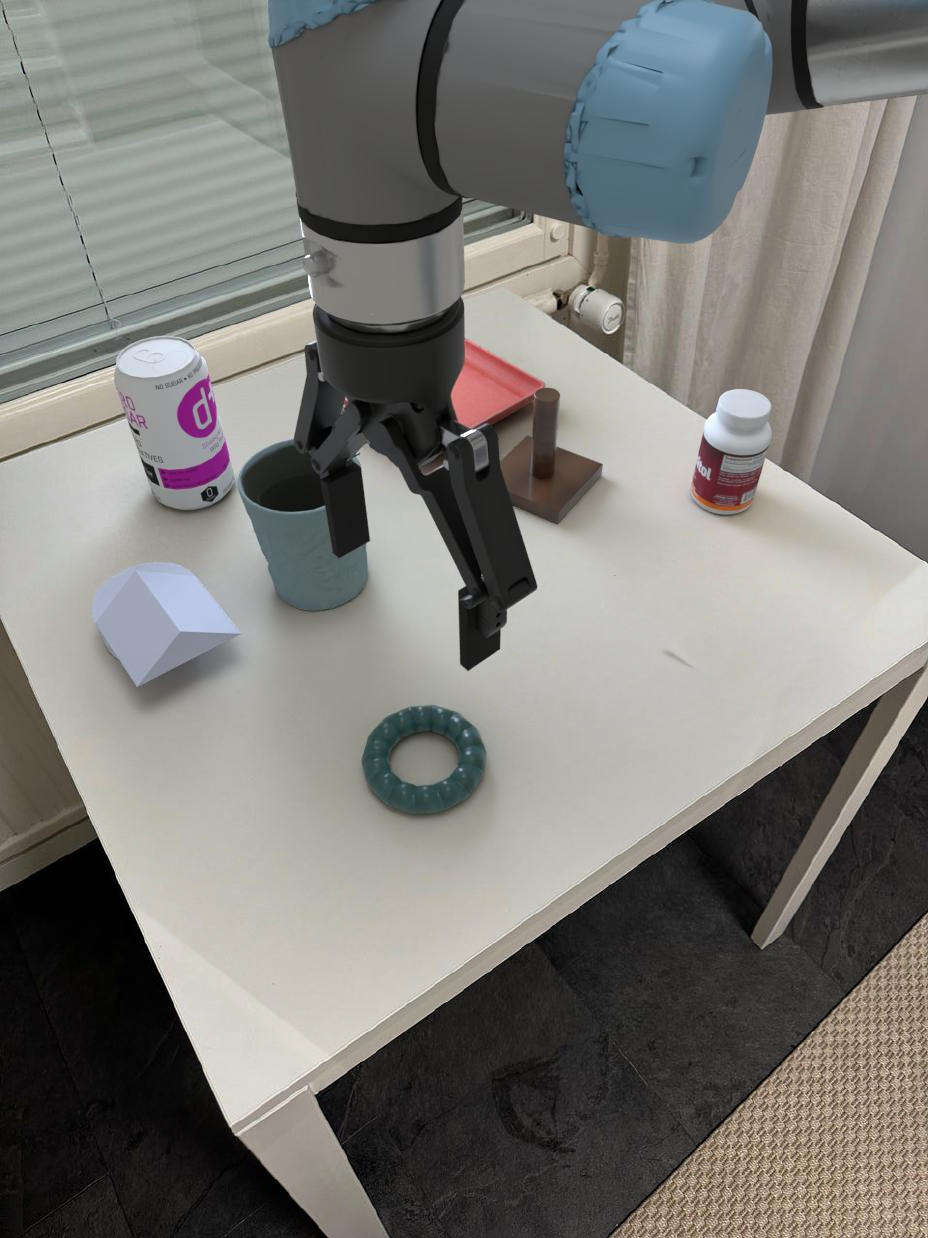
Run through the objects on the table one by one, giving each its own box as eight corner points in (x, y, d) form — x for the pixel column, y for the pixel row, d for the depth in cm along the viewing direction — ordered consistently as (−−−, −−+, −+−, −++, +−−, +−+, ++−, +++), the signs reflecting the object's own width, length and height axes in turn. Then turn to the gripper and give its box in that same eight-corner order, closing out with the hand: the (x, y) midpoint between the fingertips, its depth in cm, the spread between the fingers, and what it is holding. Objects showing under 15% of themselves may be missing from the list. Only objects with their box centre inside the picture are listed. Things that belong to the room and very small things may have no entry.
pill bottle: (686, 475, 91) (707, 381, 83) (748, 478, 91) (774, 384, 83) (691, 515, 87) (714, 420, 79) (756, 518, 86) (785, 423, 78)
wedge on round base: (249, 660, 75) (182, 574, 82) (233, 605, 70) (163, 519, 77) (148, 713, 71) (87, 618, 78) (124, 658, 66) (61, 563, 73)
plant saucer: (547, 408, 100) (549, 382, 97) (427, 478, 91) (426, 452, 89) (439, 347, 109) (438, 322, 106) (320, 406, 100) (316, 380, 98)
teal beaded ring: (508, 750, 69) (509, 734, 67) (438, 841, 63) (437, 827, 62) (412, 697, 72) (411, 681, 71) (338, 780, 67) (335, 765, 65)
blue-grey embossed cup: (381, 607, 79) (369, 502, 70) (266, 626, 78) (239, 522, 69) (365, 533, 86) (352, 429, 77) (259, 549, 84) (233, 445, 75)
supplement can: (251, 474, 92) (220, 343, 81) (203, 523, 87) (163, 389, 76) (187, 455, 94) (148, 325, 83) (137, 501, 89) (89, 369, 78)
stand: (601, 475, 91) (613, 386, 84) (557, 524, 86) (565, 434, 79) (526, 446, 95) (531, 358, 87) (480, 491, 90) (480, 402, 82)
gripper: (192, 237, 48) (262, 530, 64) (504, 440, 36) (497, 746, 51) (307, 198, 52) (347, 486, 67) (630, 371, 39) (587, 678, 54)
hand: (412, 599), depth 59 cm, fingers open, 13 cm apart
